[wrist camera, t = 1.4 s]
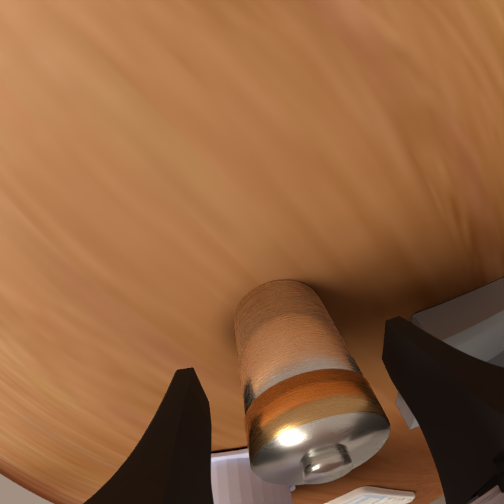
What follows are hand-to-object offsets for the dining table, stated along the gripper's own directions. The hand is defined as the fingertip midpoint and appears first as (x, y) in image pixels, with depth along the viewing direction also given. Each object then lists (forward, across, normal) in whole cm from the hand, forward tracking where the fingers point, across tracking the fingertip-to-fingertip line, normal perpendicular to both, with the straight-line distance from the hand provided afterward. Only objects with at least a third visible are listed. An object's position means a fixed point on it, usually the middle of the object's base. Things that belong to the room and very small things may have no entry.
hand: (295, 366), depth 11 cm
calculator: (+4, -6, +38) cm, 39 cm away
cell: (+3, 0, 0) cm, 3 cm away
